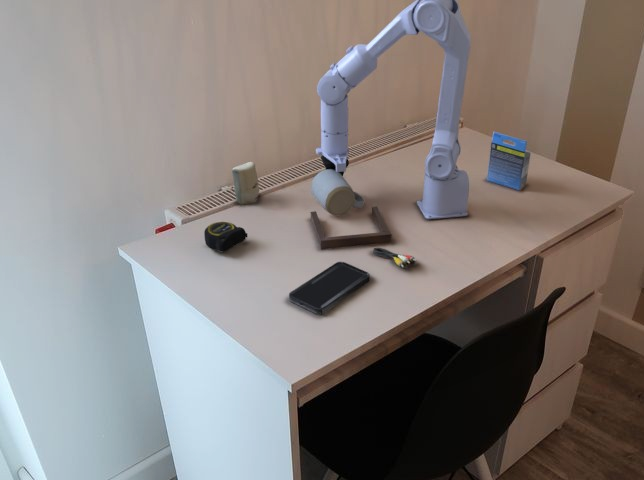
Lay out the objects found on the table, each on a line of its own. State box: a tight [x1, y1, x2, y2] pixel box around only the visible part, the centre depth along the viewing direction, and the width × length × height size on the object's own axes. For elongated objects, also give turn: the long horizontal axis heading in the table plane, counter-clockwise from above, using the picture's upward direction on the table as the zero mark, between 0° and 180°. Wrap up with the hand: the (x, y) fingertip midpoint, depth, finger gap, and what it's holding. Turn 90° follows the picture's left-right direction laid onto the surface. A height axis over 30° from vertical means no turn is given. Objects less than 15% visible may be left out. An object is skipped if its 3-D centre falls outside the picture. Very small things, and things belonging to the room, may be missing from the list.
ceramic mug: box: [310, 169, 365, 216], centre depth 154 cm, size 11×8×8 cm
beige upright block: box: [231, 161, 260, 206], centre depth 155 cm, size 6×5×8 cm
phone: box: [288, 261, 371, 315], centre depth 131 cm, size 8×1×15 cm
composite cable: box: [372, 247, 417, 270], centre depth 140 cm, size 10×5×2 cm, turn 42°
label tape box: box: [486, 130, 532, 191], centre depth 167 cm, size 9×4×12 cm, turn 58°
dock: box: [309, 205, 392, 250], centre depth 148 cm, size 14×12×2 cm
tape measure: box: [203, 221, 248, 253], centre depth 141 cm, size 7×7×4 cm
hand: (334, 188), depth 160 cm, fingers closed
